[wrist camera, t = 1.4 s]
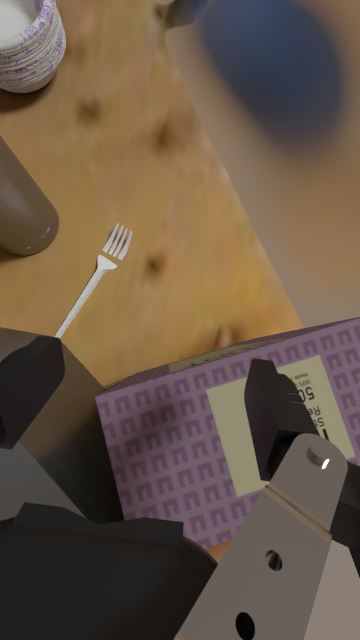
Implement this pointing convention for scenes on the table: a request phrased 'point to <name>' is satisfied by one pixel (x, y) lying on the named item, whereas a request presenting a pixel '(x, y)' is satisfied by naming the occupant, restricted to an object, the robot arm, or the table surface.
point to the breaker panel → (60, 448)
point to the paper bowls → (29, 44)
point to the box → (222, 426)
